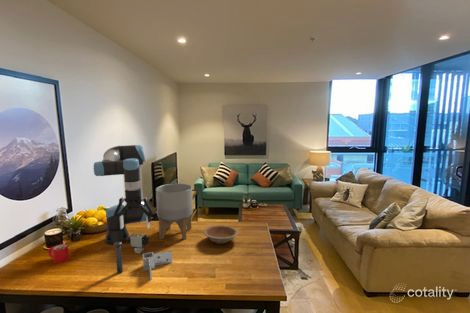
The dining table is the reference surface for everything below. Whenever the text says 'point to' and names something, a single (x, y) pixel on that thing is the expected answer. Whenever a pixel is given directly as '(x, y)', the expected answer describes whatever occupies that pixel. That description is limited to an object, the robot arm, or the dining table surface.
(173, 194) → the planter
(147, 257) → the hinge leaves
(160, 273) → the dining table surface
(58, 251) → the mug
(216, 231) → the bowl
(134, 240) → the pneumatic valve
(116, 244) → the pin
